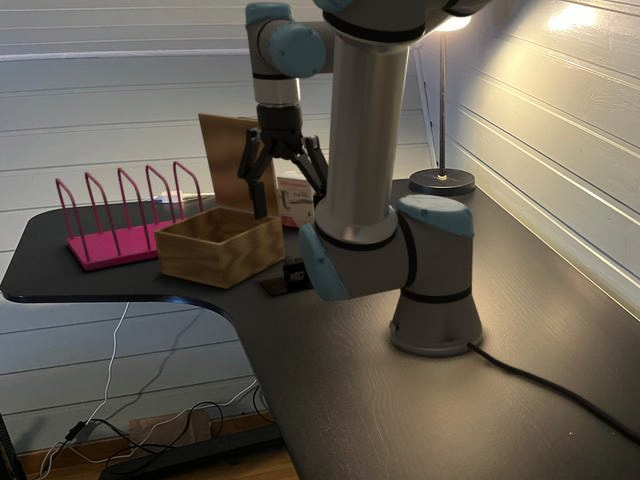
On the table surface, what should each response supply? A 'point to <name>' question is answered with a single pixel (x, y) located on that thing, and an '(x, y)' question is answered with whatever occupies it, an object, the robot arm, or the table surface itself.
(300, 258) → the black angular piece
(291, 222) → the ink box
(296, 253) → the table surface
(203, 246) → the chest
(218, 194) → the chest lid
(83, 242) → the file sorter
